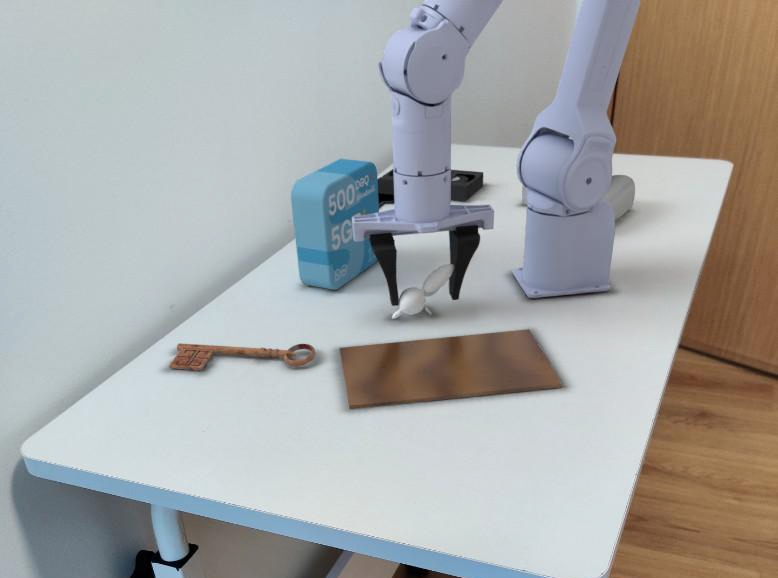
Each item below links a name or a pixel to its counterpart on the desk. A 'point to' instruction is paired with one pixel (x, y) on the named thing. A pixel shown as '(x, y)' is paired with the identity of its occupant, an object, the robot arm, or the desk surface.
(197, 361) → the key
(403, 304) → the rabbit figurine
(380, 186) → the vhs tape
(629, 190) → the infrared thermometer
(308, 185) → the data package
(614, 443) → the desk surface
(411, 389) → the brown wooden board
